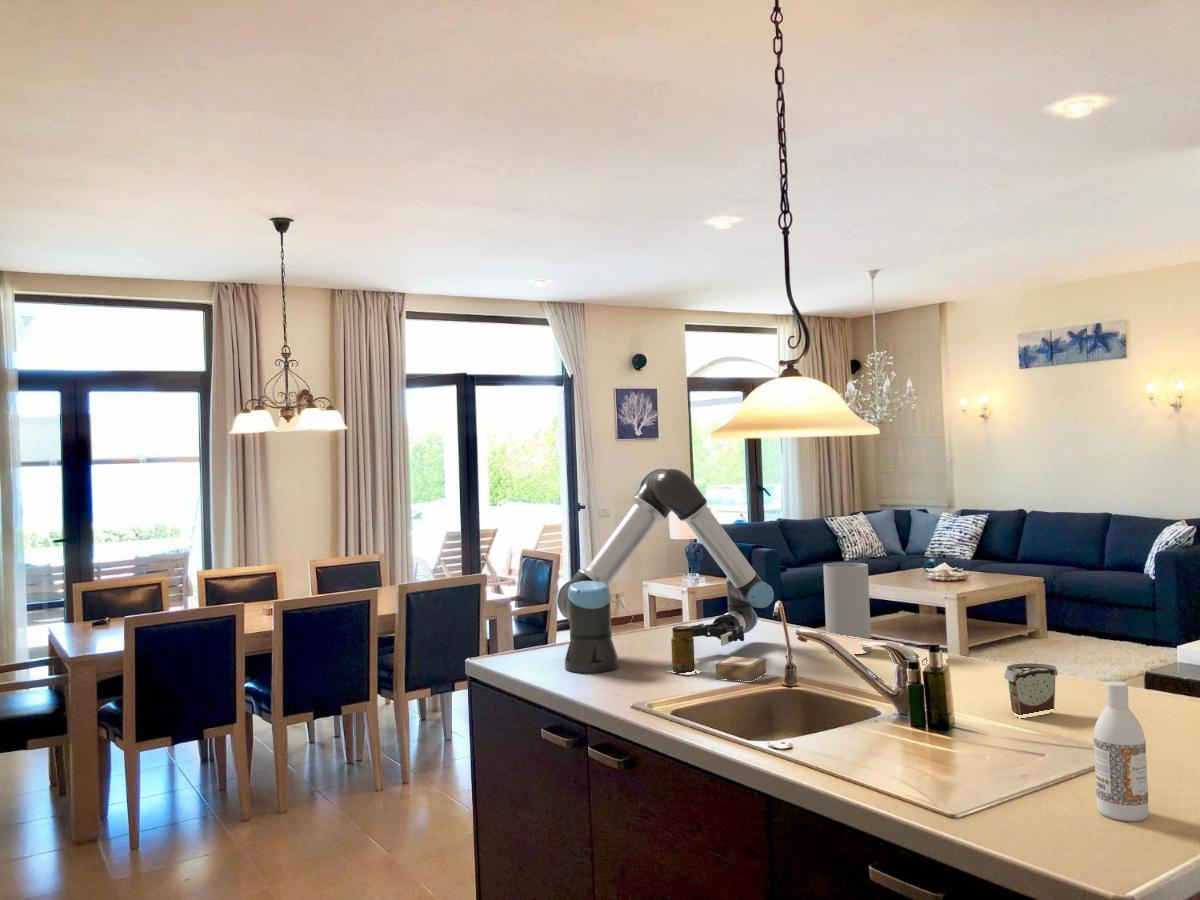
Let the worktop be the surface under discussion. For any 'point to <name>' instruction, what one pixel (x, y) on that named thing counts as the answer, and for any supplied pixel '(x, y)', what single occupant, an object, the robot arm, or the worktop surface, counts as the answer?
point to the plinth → (740, 668)
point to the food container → (1031, 687)
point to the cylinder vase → (847, 600)
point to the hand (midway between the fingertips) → (699, 639)
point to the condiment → (682, 649)
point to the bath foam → (1120, 759)
